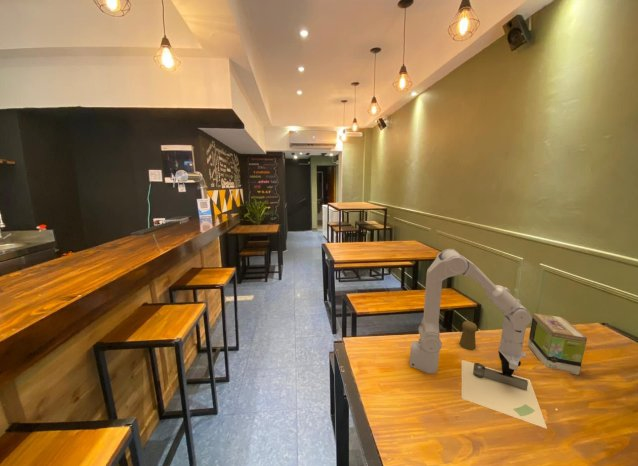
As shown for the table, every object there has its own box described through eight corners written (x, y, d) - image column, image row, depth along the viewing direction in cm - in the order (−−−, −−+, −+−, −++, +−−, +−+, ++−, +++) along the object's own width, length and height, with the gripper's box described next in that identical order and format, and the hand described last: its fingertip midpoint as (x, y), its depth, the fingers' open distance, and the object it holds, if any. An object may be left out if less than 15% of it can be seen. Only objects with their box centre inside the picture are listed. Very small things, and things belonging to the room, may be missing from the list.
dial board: (461, 401, 77) (461, 398, 77) (461, 362, 94) (461, 359, 94) (546, 431, 68) (547, 428, 68) (529, 382, 85) (529, 379, 85)
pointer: (473, 375, 86) (474, 367, 85) (472, 369, 89) (473, 361, 88) (527, 392, 79) (529, 383, 79) (525, 385, 82) (526, 377, 81)
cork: (478, 353, 99) (481, 328, 97) (461, 351, 101) (464, 326, 99) (472, 344, 105) (475, 320, 103) (456, 342, 106) (459, 318, 104)
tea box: (580, 376, 88) (589, 337, 85) (545, 369, 91) (552, 331, 88) (556, 350, 102) (563, 316, 99) (526, 345, 105) (532, 312, 102)
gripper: (533, 355, 74) (526, 395, 77) (522, 330, 87) (517, 366, 89) (504, 347, 77) (498, 386, 80) (498, 325, 90) (493, 359, 92)
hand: (506, 375), depth 85 cm, fingers closed
